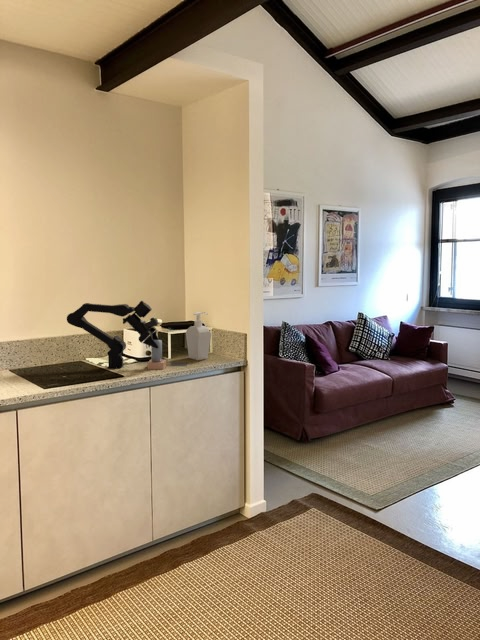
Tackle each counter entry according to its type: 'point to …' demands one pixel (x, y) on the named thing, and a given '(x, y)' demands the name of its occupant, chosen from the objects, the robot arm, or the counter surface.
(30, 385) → the counter surface
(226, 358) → the counter surface
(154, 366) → the salmon flat square slab
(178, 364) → the mat
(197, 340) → the soap bottle
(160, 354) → the grey domed cylinder
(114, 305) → the robot arm
